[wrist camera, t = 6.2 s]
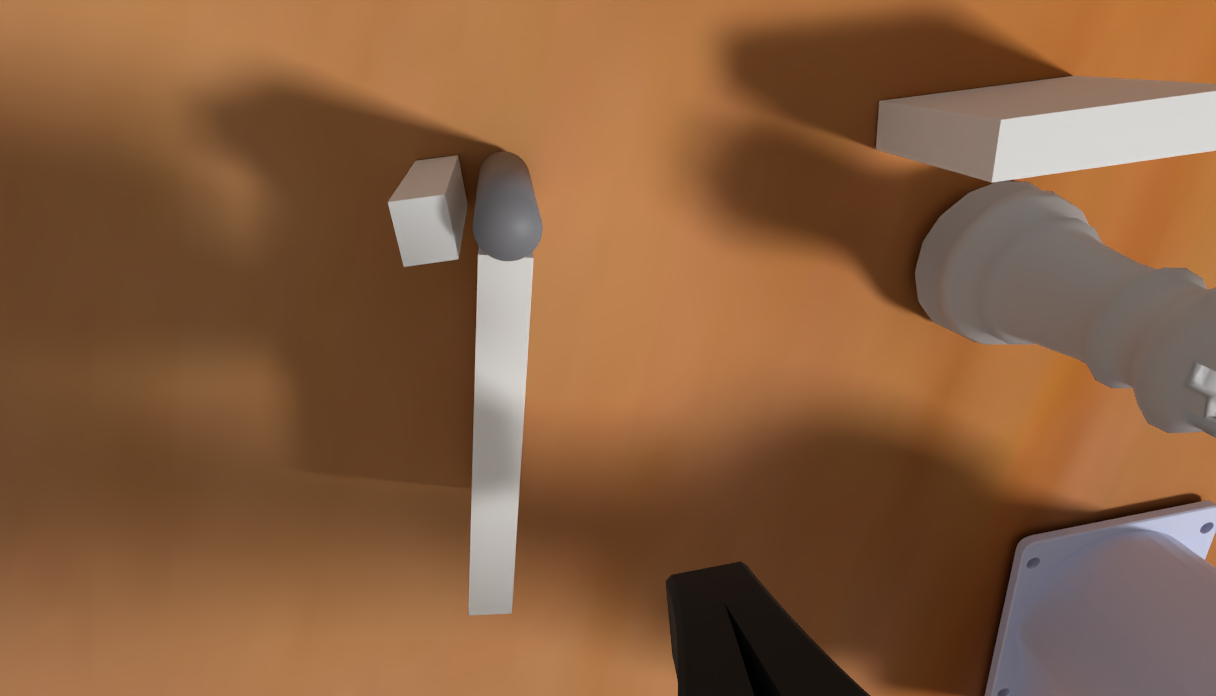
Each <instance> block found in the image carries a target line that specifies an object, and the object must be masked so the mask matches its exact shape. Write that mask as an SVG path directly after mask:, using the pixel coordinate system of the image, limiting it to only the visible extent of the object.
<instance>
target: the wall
mask: <svg viewBox="0 0 1216 696" xmlns="http://www.w3.org/2000/svg"><path fill="white" fill-rule="evenodd" d="M876 150H879V151H882V152H886V153H889V154H893V155H896V156H900V157H904V158H907V159H911V160H914V161H918V162H921V163H925V164H928V165H932V166H935V167H939V168H942V169H946V170H949V171H953V172H956V173H960V174H963V175H967V176H970V177H974V178H977V179H981V180H984V181H988V182H991V183H992V182H999V181H1006V180H1013V179H1020V178H1027V177H1034V176H1041V175H1048V174H1055V173H1062V172H1069V171H1076V170H1083V169H1090V168H1097V167H1104V166H1111V165H1118V164H1125V163H1131V162H1138V161H1145V160H1152V159H1159V158H1166V157H1173V156H1180V155H1187V154H1194V153H1201V152H1208V151H1215V150H1216V84H1208V83H1191V82H1174V81H1157V80H1140V79H1123V78H1106V77H1089V76H1069V77H1061V78H1053V79H1045V80H1038V81H1030V82H1022V83H1014V84H1007V85H999V86H991V87H983V88H976V89H968V90H960V91H952V92H945V93H937V94H929V95H921V96H914V97H906V98H898V99H890V100H883V101H879V112H878V126H877V140H876ZM388 205H389V209H390V213H391V218H392V222H393V226H394V230H395V234H396V238H397V242H398V246H399V250H400V254H401V258H402V262H403V266H404V267H408V266H415V265H422V264H429V263H436V262H443V261H449V260H456V259H459V254H460V248H461V242H462V236H463V230H464V224H465V218H466V213H467V207H468V204H467V199H466V194H465V189H464V183H463V178H462V173H461V168H460V163H459V158H458V155H456V156H448V157H441V158H433V159H425V160H417V161H415V162H414V164H413V165H412V167H411V168H410V170H409V171H408V173H407V174H406V176H405V177H404V179H403V180H402V182H401V183H400V185H399V186H398V188H397V189H396V191H395V192H394V193H393V195H392V196H391V198H390V199H389V201H388Z"/></svg>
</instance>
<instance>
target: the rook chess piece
mask: <svg viewBox="0 0 1216 696" xmlns="http://www.w3.org/2000/svg"><path fill="white" fill-rule="evenodd" d="M915 279H916V287H917V295H918V302H919V303H920V304H921V306H922V307H923V309H924V310H925V312H926V313H927V315H928V316H929V318H930V319H931V321H932V322H934V323H936V324H939V325H941V326H943V327H945V328H947V329H949V330H951V331H953V332H955V333H957V334H959V335H961V336H963V337H965V338H967V339H969V340H971V341H973V342H977V343H982V344H1037V345H1040V346H1043V347H1045V348H1048V349H1051V350H1054V351H1057V352H1059V353H1062V354H1065V355H1068V356H1070V357H1073V358H1076V359H1078V360H1080V361H1082V362H1084V363H1086V364H1087V366H1088V368H1089V369H1090V371H1091V373H1092V375H1093V376H1094V378H1095V380H1097V381H1098V382H1100V383H1102V384H1104V385H1106V386H1108V387H1110V388H1133V389H1134V393H1135V397H1136V400H1137V404H1138V405H1139V407H1140V409H1141V411H1142V413H1143V415H1144V417H1145V419H1146V421H1147V422H1148V423H1149V424H1151V425H1153V426H1155V427H1157V428H1159V429H1161V430H1163V431H1165V432H1167V433H1184V432H1203V431H1204V432H1206V433H1208V434H1210V435H1212V436H1213V437H1215V438H1216V288H1213V289H1210V290H1209V289H1207V288H1206V285H1205V283H1204V281H1203V278H1201V277H1200V276H1198V275H1196V274H1195V273H1193V272H1192V271H1190V270H1188V269H1187V268H1161V269H1159V270H1157V269H1154V268H1151V267H1148V266H1146V265H1143V264H1140V263H1137V262H1135V261H1133V260H1131V259H1130V258H1128V257H1126V256H1124V255H1122V254H1120V253H1118V252H1117V251H1115V250H1113V249H1111V248H1109V247H1107V246H1106V245H1104V244H1103V243H1102V242H1101V240H1100V238H1099V236H1098V234H1097V232H1096V230H1095V229H1094V228H1093V227H1091V226H1089V224H1088V222H1087V220H1086V218H1085V216H1084V214H1083V212H1082V211H1081V210H1080V209H1078V208H1077V207H1076V206H1075V205H1073V204H1072V203H1070V202H1068V201H1067V200H1065V199H1064V198H1062V197H1060V196H1059V195H1057V194H1055V193H1054V192H1052V191H1042V190H1041V189H1039V188H1037V187H1036V186H1034V185H1033V184H1031V183H1029V182H1015V181H999V182H995V183H993V184H990V185H987V186H985V187H982V188H979V189H977V190H974V191H971V192H969V193H968V194H967V195H965V196H964V197H963V198H962V199H960V200H959V201H958V202H957V203H955V204H954V205H953V206H952V207H951V208H949V209H948V210H947V211H946V212H944V213H943V214H942V215H941V216H940V217H938V219H937V220H936V222H935V224H934V225H933V227H932V228H931V230H930V231H929V233H928V234H927V236H926V237H925V239H924V240H923V242H922V246H921V250H920V254H919V257H918V261H917V265H916V270H915Z"/></svg>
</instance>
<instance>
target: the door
mask: <svg viewBox="0 0 1216 696" xmlns="http://www.w3.org/2000/svg"><path fill="white" fill-rule="evenodd" d="M473 235H474V238H475V240H476V242H477V244H478V246H479V248H478V273H477V311H476V348H475V386H474V424H473V462H472V500H471V538H470V575H469V613H468V615H487V614H512V601H513V585H514V568H515V552H516V536H517V520H518V503H519V487H520V471H521V455H522V438H523V422H524V406H525V390H526V373H527V357H528V341H529V325H530V308H531V292H532V276H533V260H534V257H533V252H532V251H534V249H535V248H536V247H537V245H538V243H539V241H540V239H541V235H542V221H541V217H540V213H539V209H538V205H537V202H536V198H535V194H534V190H533V186H532V182H531V178H530V174H529V170H528V168H527V166H526V164H525V162H524V161H523V160H522V159H521V158H520V157H519V156H517V155H515V154H513V153H510V152H497V153H494V154H492V155H490V156H489V157H487V158H486V159H485V160H484V162H483V163H482V165H481V167H480V171H479V177H478V185H477V193H476V201H475V209H474V217H473Z"/></svg>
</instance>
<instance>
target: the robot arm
mask: <svg viewBox="0 0 1216 696" xmlns="http://www.w3.org/2000/svg"><path fill="white" fill-rule="evenodd" d="M1215 532H1216V504H1215V503H1213V502H1212V501H1201V502H1196V503H1191V504H1186V505H1181V506H1176V507H1171V508H1166V509H1161V510H1156V511H1151V512H1146V513H1141V514H1136V515H1131V516H1126V517H1121V518H1116V519H1111V520H1106V521H1101V522H1096V523H1091V524H1085V525H1080V526H1075V527H1070V528H1065V529H1060V530H1055V531H1050V532H1045V533H1040V534H1035V535H1030V536H1027V537H1025V538H1023V539H1022V540H1021V541H1020V542H1019V543H1018V545H1017V547H1016V551H1015V556H1014V561H1013V565H1012V570H1011V575H1010V579H1009V584H1008V589H1007V593H1006V598H1005V603H1004V607H1003V612H1002V617H1001V621H1000V626H999V631H998V636H997V640H996V645H995V650H994V654H993V659H992V664H991V668H990V673H989V678H988V682H987V687H986V692H985V696H1216V568H1215V567H1214V566H1213V565H1211V564H1210V563H1208V562H1207V561H1206V560H1205V558H1206V555H1207V553H1208V550H1209V547H1210V545H1211V542H1212V539H1213V537H1214V534H1215ZM666 590H667V601H668V612H669V622H670V633H671V644H672V655H673V660H674V664H675V669H676V674H677V679H678V696H870V695H869V694H868V693H867V692H866V691H864V690H863V689H862V688H861V687H860V686H859V685H858V684H857V683H856V682H855V681H854V680H853V679H852V678H850V677H849V676H848V675H847V674H846V673H845V672H844V671H843V670H842V669H841V668H840V667H839V666H838V665H837V664H836V663H835V662H834V661H833V660H832V659H831V658H830V657H829V656H828V655H827V654H826V653H825V652H824V651H823V650H822V649H821V648H820V647H819V646H818V645H817V644H816V643H815V642H814V641H813V640H812V639H811V638H810V637H809V636H808V635H807V634H806V633H805V632H804V631H803V629H802V628H801V627H800V626H799V625H798V624H797V623H796V622H795V621H794V620H793V619H792V618H791V617H790V615H789V614H788V613H787V612H786V611H785V610H784V609H783V608H782V607H781V606H780V604H779V603H778V602H777V601H776V600H775V599H774V598H773V596H772V595H771V594H770V593H769V592H768V591H767V590H766V588H765V587H764V586H763V585H762V584H761V582H760V581H759V580H758V579H757V578H756V576H755V575H754V574H753V573H752V571H751V570H750V569H749V568H748V566H747V565H745V564H744V563H742V562H736V563H731V564H726V565H721V566H716V567H710V568H705V569H700V570H695V571H690V572H684V573H679V574H674V575H671V576H670V577H669V578H668V579H667V580H666Z"/></svg>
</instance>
